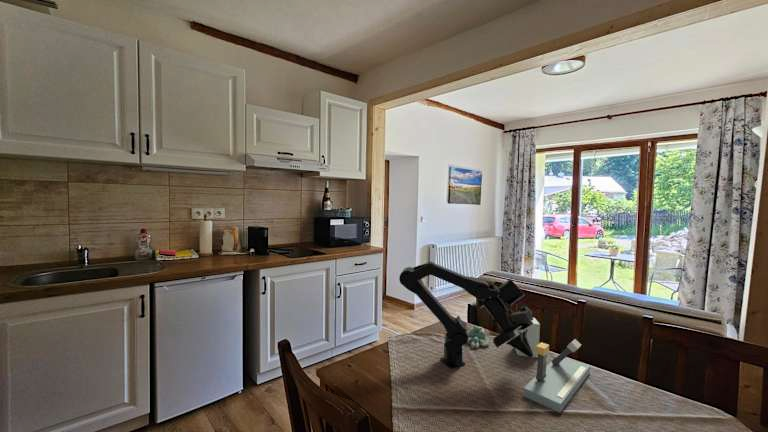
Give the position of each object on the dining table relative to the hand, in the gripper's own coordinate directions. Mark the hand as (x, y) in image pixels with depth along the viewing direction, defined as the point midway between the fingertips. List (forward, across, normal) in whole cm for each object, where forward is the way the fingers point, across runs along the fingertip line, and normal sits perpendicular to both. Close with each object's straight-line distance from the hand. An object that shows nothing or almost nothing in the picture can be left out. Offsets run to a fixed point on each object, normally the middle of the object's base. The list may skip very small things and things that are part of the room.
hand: (531, 356), depth 100 cm
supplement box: (0, +20, +13) cm, 24 cm away
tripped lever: (+6, 0, +1) cm, 6 cm away
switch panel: (+11, +7, +2) cm, 13 cm away
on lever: (+6, +14, +1) cm, 15 cm away
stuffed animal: (-12, +13, +25) cm, 31 cm away
